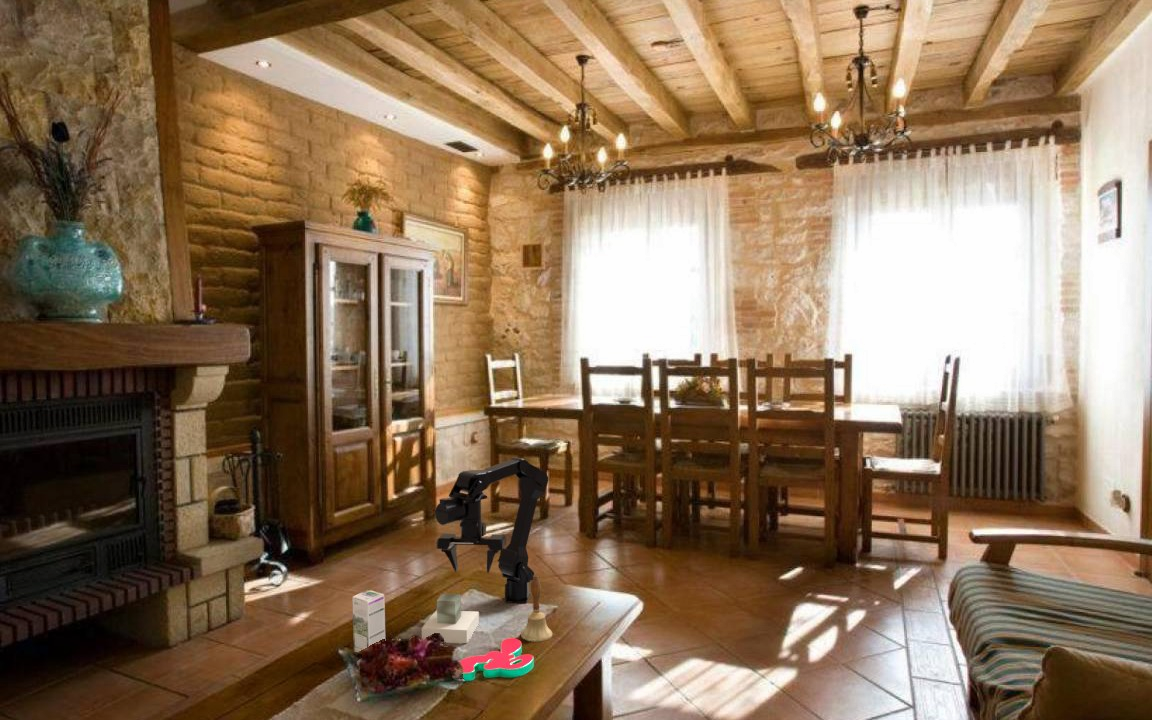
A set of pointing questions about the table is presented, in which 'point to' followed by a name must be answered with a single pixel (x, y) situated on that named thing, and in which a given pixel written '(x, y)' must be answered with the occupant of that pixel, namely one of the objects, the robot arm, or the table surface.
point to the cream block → (453, 627)
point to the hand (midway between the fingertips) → (472, 571)
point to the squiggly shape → (499, 662)
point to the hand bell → (536, 618)
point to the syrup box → (368, 619)
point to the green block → (449, 608)
